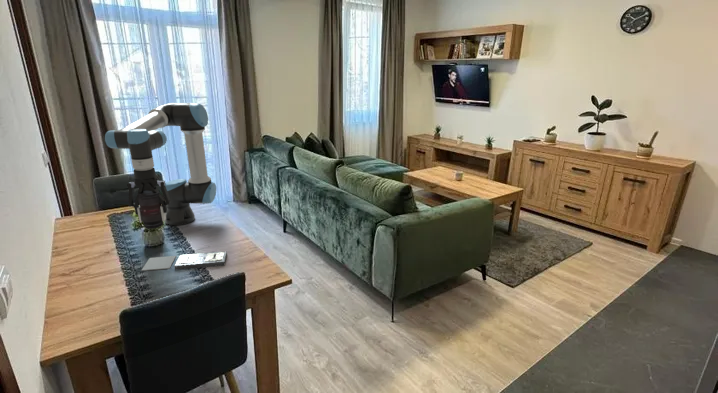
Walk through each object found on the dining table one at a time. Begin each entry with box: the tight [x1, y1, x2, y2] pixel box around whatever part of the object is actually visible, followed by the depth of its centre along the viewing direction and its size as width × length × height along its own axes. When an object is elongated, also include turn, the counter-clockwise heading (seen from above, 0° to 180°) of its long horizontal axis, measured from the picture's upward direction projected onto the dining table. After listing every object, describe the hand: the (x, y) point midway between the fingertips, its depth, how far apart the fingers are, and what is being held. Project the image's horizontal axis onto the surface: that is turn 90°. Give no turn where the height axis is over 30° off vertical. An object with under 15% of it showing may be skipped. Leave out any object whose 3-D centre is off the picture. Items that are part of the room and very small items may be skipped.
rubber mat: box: [141, 255, 177, 272], centre depth 163 cm, size 11×11×1 cm
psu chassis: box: [173, 250, 228, 271], centre depth 164 cm, size 10×20×2 cm, turn 102°
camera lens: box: [137, 190, 164, 230], centre depth 155 cm, size 8×8×15 cm
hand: (153, 220), depth 157 cm, fingers closed on camera lens, 8 cm apart
